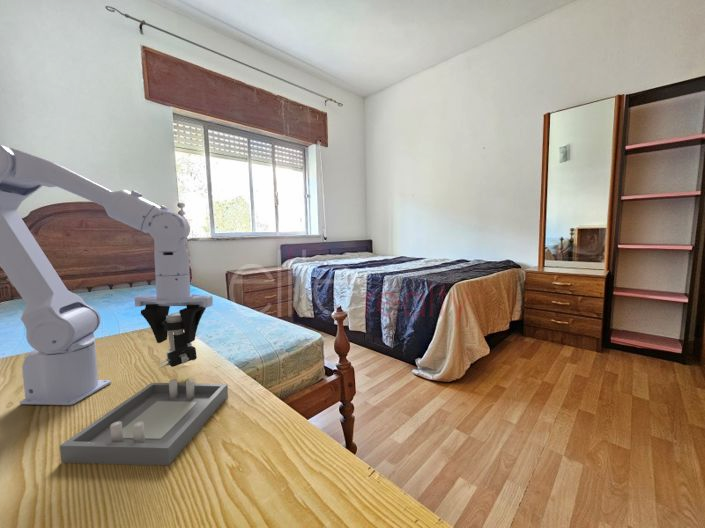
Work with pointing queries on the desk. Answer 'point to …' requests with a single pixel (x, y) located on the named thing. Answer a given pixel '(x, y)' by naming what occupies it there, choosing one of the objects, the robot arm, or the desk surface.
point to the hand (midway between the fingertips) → (176, 341)
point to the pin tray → (147, 425)
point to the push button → (177, 342)
